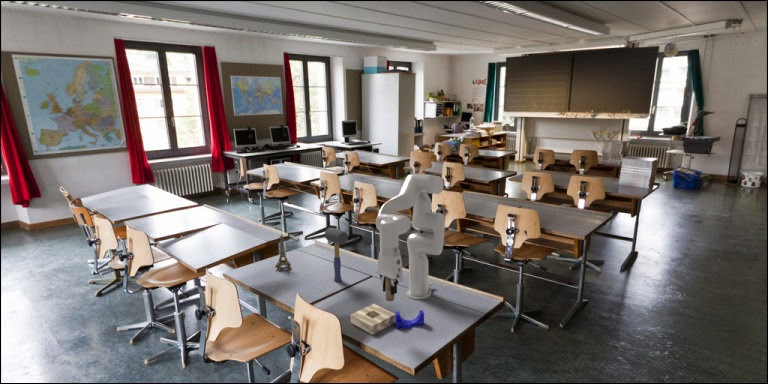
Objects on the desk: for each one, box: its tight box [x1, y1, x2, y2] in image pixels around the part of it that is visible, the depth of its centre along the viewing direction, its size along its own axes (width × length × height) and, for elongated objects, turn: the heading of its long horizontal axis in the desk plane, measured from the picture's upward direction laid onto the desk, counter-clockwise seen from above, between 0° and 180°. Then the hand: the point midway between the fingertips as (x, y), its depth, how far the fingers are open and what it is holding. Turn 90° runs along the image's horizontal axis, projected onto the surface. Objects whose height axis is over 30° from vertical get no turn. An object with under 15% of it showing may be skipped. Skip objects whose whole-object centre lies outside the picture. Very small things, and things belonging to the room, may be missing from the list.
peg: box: [385, 277, 395, 302], centre depth 171 cm, size 4×4×10 cm
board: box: [350, 303, 396, 336], centre depth 183 cm, size 14×14×4 cm
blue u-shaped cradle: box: [395, 309, 425, 330], centre depth 180 cm, size 12×4×6 cm, turn 94°
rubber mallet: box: [324, 227, 349, 283], centre depth 223 cm, size 12×8×30 cm, turn 46°
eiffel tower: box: [274, 231, 293, 273], centre depth 242 cm, size 11×11×25 cm
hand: (389, 291), depth 171 cm, fingers closed on peg, 3 cm apart
